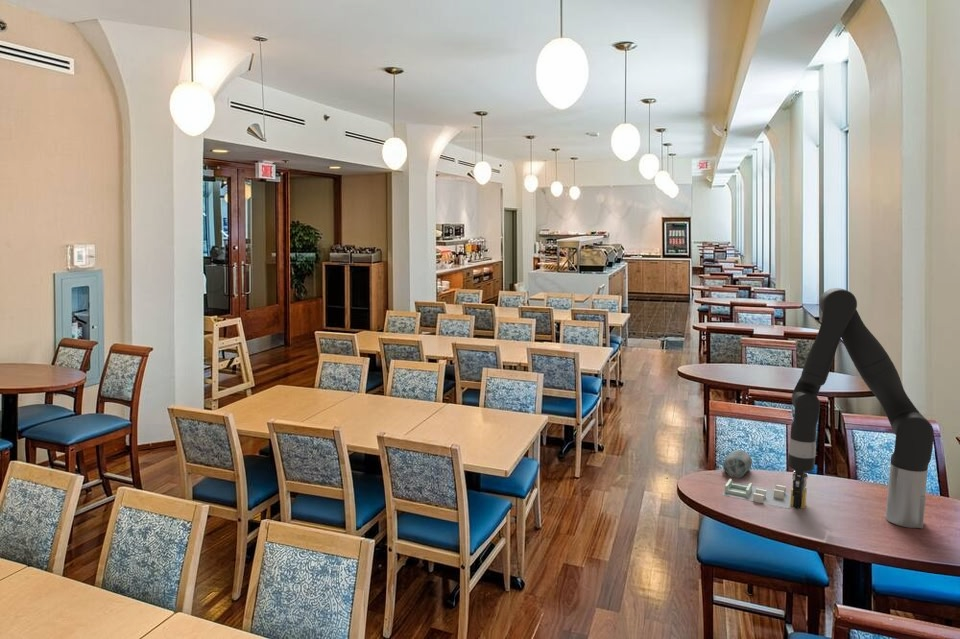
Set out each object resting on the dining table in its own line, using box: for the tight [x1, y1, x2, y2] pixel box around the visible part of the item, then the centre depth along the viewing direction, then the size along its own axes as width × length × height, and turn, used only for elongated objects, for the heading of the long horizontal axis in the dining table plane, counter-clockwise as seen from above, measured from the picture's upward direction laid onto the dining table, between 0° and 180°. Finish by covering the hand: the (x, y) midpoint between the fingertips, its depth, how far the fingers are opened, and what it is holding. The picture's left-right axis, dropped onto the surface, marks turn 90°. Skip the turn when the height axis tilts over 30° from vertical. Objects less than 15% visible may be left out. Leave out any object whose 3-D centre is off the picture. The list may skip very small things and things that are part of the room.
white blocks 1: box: [752, 488, 766, 504], centre depth 205 cm, size 3×6×2 cm, turn 148°
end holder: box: [724, 478, 753, 497], centre depth 211 cm, size 7×7×2 cm
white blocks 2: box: [773, 484, 787, 499], centre depth 208 cm, size 3×6×2 cm, turn 148°
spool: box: [722, 449, 753, 479], centre depth 229 cm, size 14×10×10 cm
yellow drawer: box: [790, 487, 808, 509], centre depth 201 cm, size 4×4×7 cm
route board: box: [721, 481, 791, 510], centre depth 209 cm, size 20×14×1 cm
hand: (798, 505), depth 201 cm, fingers closed on yellow drawer, 4 cm apart
